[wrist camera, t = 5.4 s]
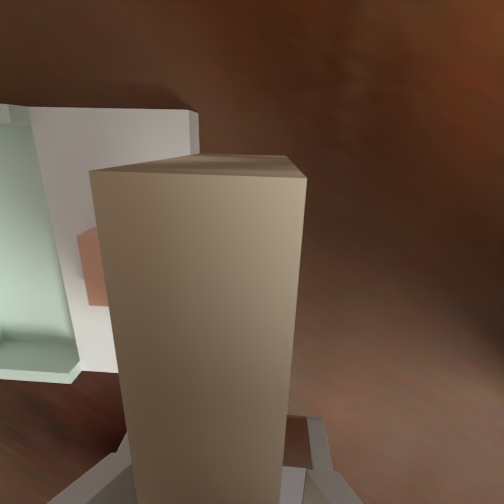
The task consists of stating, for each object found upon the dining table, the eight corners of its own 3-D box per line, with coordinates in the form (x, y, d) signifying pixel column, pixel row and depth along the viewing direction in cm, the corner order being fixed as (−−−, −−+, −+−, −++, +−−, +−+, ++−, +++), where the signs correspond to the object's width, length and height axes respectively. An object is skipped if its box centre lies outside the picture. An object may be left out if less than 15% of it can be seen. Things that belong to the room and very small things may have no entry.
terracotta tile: (164, 230, 21) (154, 239, 19) (170, 295, 23) (160, 309, 21) (93, 227, 21) (76, 235, 19) (104, 291, 23) (88, 305, 21)
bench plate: (198, 113, 21) (188, 109, 18) (206, 358, 27) (200, 378, 25) (54, 110, 21) (27, 106, 19) (98, 351, 28) (81, 370, 26)
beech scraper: (286, 155, 9) (307, 178, 3) (264, 512, 14) (258, 748, 9) (201, 153, 9) (88, 171, 4) (211, 507, 15) (172, 737, 9)
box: (54, 110, 21) (7, 104, 17) (98, 351, 28) (70, 383, 24) (-69, 107, 22) (-140, 101, 18) (4, 345, 29) (-37, 376, 25)
